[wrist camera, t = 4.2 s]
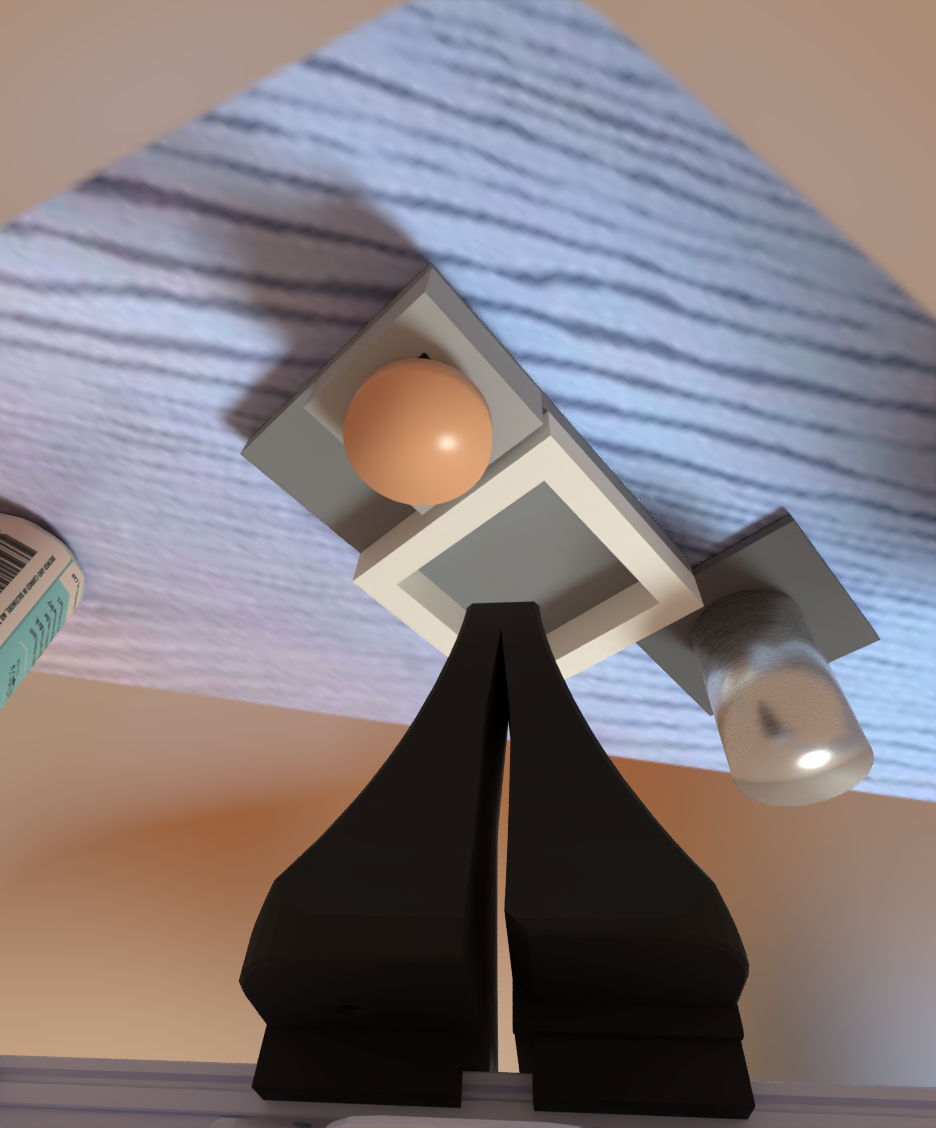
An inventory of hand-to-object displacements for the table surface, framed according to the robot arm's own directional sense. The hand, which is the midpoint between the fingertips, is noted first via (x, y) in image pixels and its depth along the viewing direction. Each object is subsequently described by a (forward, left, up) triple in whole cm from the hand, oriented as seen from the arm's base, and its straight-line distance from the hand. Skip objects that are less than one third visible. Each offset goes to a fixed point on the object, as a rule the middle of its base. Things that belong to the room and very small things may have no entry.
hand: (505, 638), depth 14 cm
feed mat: (-12, -2, -9) cm, 15 cm away
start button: (+3, 0, -8) cm, 9 cm away
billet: (-12, -2, -9) cm, 15 cm away
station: (-1, +2, -9) cm, 10 cm away
